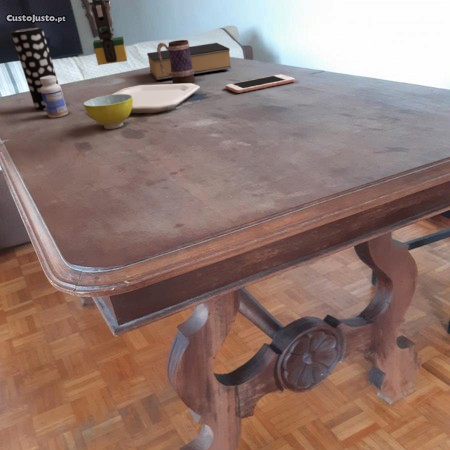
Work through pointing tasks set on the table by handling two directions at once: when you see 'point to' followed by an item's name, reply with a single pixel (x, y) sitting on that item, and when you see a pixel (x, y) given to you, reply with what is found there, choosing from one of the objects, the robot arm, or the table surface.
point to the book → (193, 60)
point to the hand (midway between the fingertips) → (112, 59)
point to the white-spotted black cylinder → (34, 61)
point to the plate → (158, 96)
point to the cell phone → (259, 83)
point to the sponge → (119, 51)
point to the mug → (178, 61)
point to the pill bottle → (53, 97)
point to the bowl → (110, 109)
